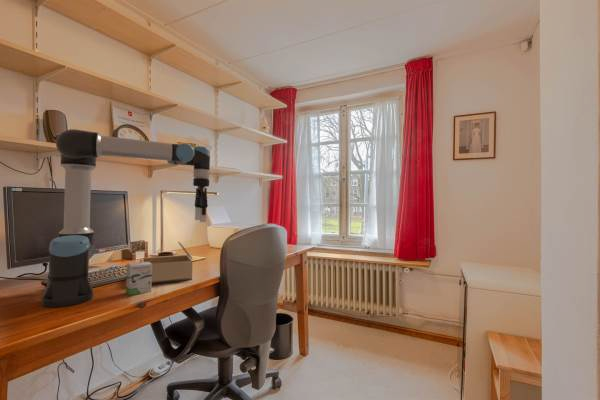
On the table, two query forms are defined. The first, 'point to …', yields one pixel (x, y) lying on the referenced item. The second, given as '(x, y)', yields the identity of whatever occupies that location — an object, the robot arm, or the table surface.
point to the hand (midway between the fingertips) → (200, 221)
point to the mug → (165, 254)
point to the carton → (170, 268)
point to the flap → (185, 250)
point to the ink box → (138, 278)
